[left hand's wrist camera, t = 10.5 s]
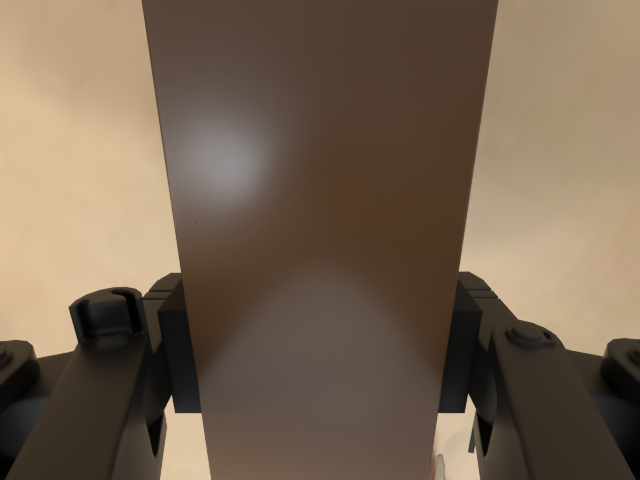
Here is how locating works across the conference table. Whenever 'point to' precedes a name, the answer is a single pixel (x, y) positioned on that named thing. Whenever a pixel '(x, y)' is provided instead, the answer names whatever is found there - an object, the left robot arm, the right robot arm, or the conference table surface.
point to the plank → (319, 220)
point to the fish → (439, 468)
